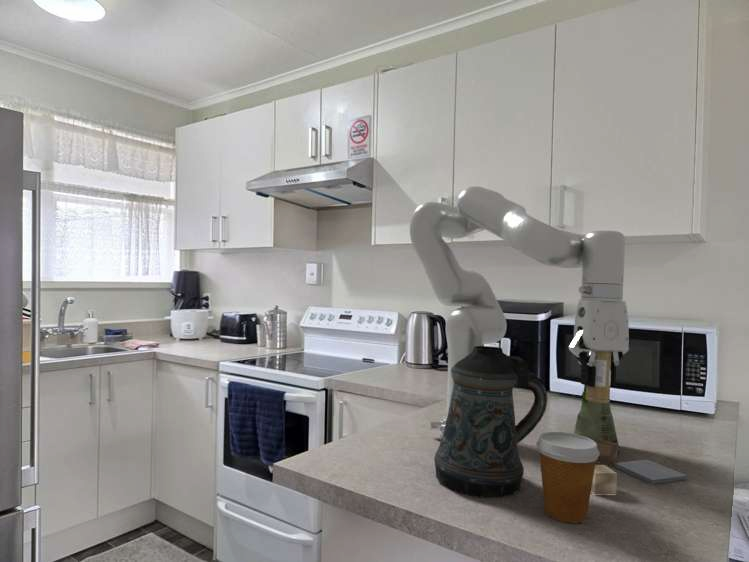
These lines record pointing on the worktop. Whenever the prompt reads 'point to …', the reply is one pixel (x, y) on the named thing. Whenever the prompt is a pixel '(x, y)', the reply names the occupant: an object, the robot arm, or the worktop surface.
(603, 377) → the sprinkles bottle
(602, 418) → the miniature christmas tree
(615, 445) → the walnut block
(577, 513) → the disposable coffee cup
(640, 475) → the slate coaster
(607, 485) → the beech block
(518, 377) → the beer stein
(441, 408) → the worktop surface
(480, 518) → the worktop surface
